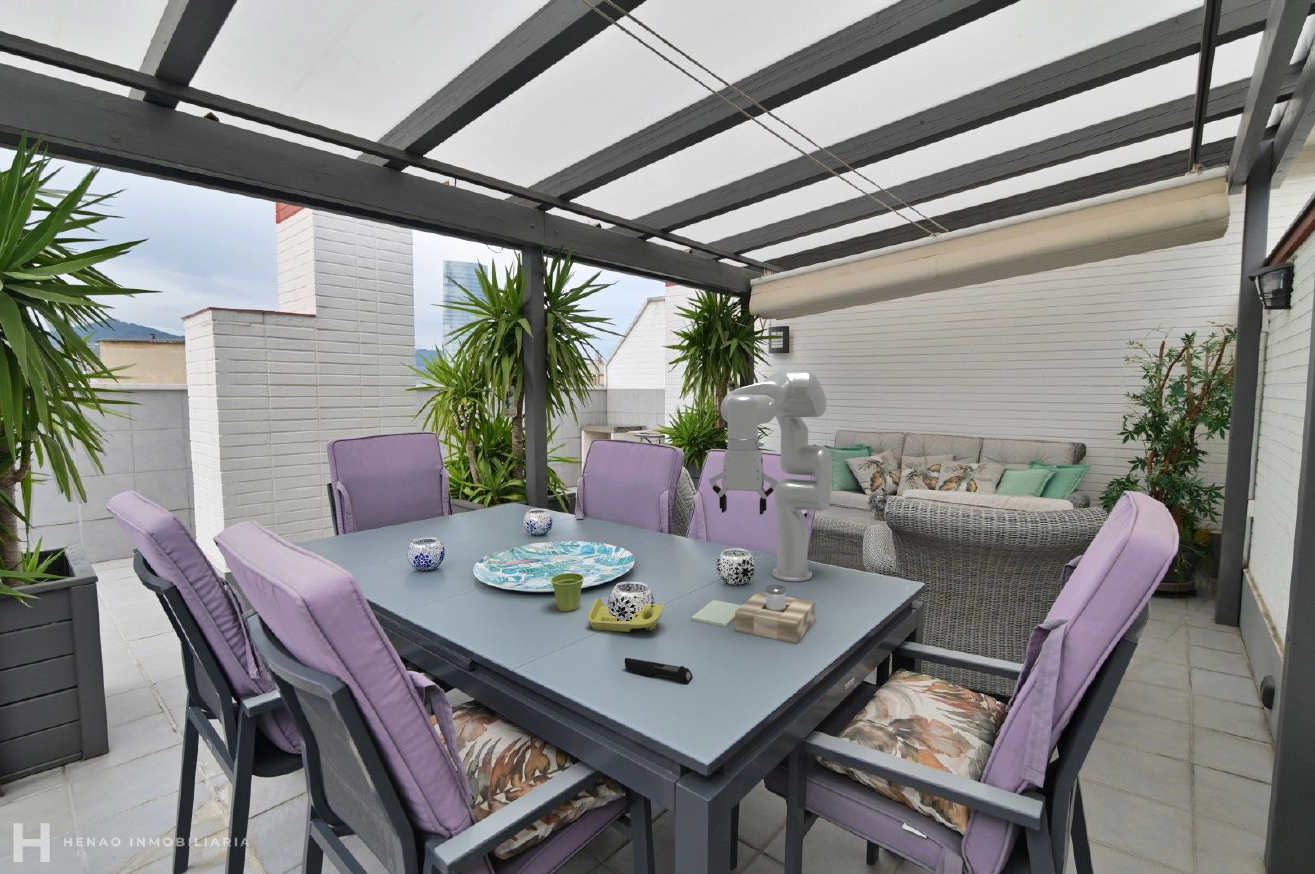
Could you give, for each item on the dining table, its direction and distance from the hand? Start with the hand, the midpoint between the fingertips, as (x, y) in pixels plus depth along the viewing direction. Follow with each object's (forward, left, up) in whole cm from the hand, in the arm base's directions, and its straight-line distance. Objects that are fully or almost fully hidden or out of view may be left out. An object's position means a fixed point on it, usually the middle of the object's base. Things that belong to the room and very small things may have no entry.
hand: (742, 512), depth 153 cm
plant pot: (+10, -49, -30) cm, 58 cm away
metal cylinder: (-5, +7, -30) cm, 31 cm away
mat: (-5, -9, -30) cm, 32 cm away
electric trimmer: (+32, -7, -31) cm, 45 cm away
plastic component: (+13, -27, -31) cm, 43 cm away
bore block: (-5, +7, -30) cm, 31 cm away
